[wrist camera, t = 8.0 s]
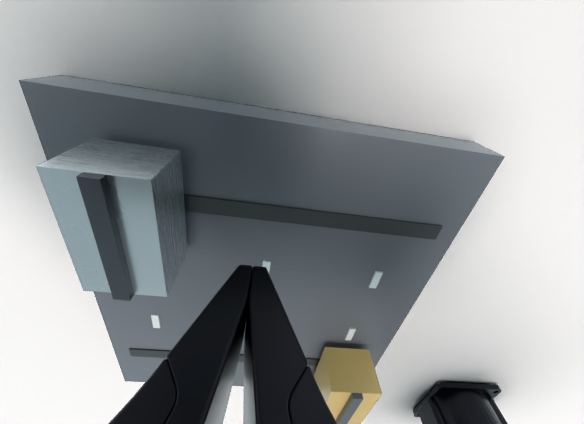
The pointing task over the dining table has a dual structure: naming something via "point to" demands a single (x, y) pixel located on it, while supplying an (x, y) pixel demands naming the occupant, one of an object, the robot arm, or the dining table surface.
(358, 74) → the dining table surface
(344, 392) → the amber fader
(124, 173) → the block
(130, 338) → the mixing board
